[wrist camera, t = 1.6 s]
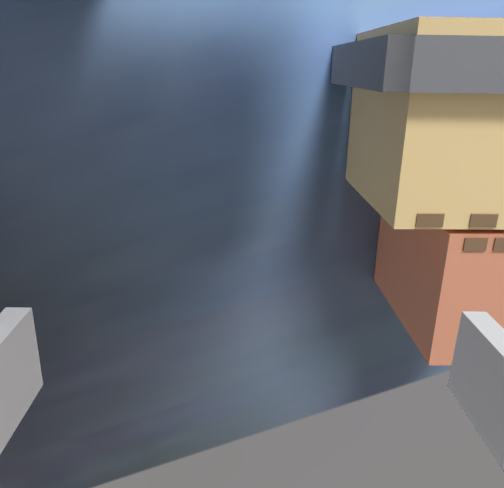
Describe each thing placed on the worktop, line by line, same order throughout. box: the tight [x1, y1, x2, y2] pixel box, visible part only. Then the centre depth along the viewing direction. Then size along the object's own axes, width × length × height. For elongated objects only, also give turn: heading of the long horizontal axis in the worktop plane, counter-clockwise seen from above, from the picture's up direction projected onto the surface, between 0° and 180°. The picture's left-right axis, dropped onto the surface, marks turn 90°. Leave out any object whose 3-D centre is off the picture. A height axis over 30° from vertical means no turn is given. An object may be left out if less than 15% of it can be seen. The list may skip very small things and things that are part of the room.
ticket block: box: [330, 17, 504, 230], centre depth 29 cm, size 10×15×13 cm, turn 89°
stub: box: [374, 216, 504, 365], centre depth 32 cm, size 8×6×12 cm
